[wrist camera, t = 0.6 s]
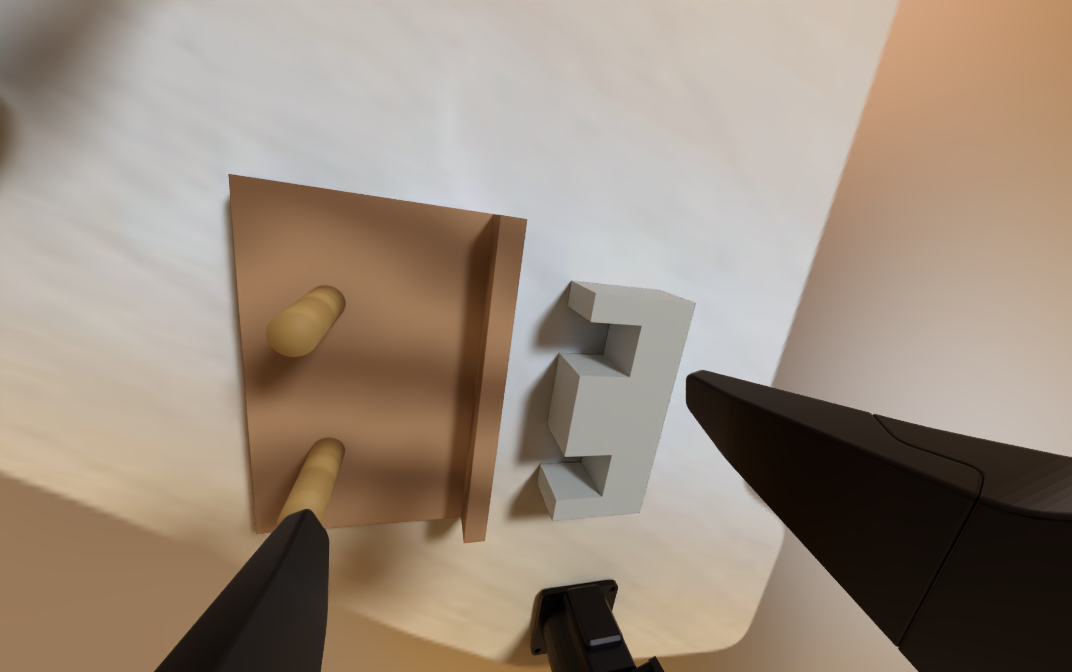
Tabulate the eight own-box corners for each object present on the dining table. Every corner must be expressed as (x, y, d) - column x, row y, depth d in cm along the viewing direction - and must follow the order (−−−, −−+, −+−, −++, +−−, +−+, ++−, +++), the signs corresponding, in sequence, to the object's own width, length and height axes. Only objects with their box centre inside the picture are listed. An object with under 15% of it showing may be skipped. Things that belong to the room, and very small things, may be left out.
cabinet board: (477, 498, 25) (493, 588, 19) (267, 513, 22) (207, 628, 16) (511, 217, 20) (546, 221, 14) (244, 176, 17) (144, 160, 11)
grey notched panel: (615, 478, 28) (639, 513, 25) (537, 482, 26) (552, 520, 23) (660, 290, 24) (696, 302, 21) (571, 280, 22) (596, 293, 19)
